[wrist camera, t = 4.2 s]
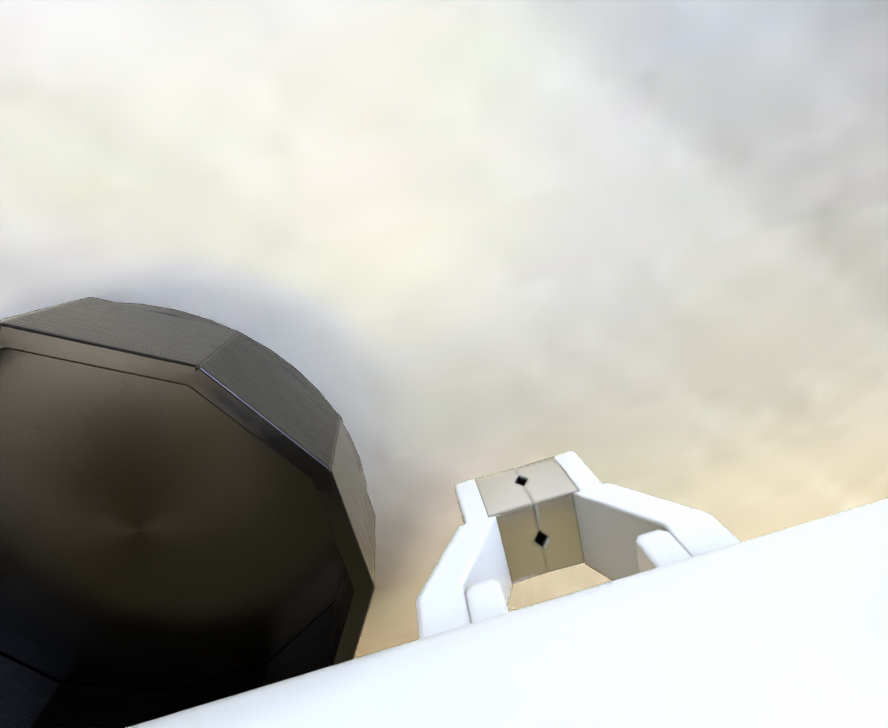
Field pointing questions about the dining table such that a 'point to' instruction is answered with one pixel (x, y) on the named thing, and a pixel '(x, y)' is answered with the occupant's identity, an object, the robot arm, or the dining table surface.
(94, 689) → the pan
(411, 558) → the dining table surface
